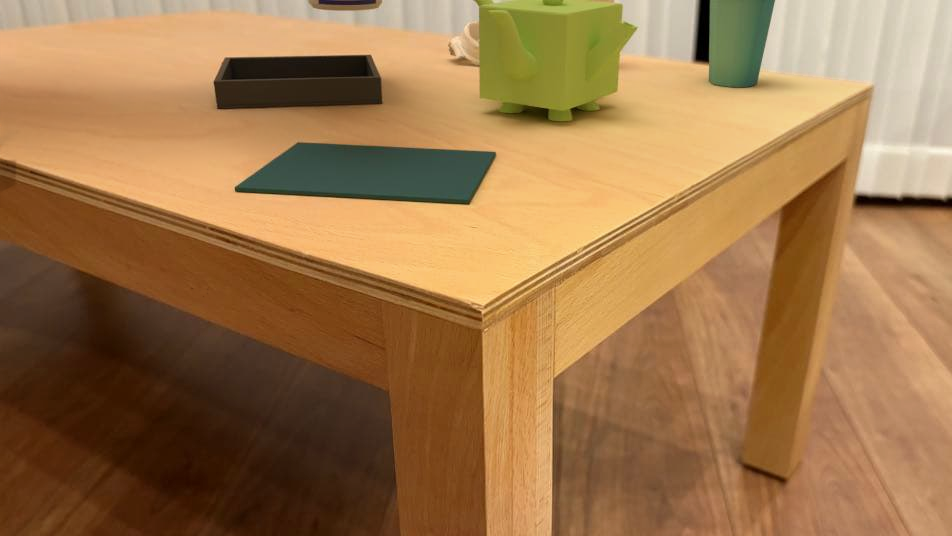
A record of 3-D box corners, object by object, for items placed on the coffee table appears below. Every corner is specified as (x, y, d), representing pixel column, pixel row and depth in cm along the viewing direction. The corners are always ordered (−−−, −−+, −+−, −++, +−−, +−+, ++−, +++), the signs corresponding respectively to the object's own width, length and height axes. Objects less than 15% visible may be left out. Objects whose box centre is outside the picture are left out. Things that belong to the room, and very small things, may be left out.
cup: (699, 95, 90) (715, -60, 83) (655, 82, 96) (666, -64, 90) (797, 84, 96) (818, -61, 90) (749, 72, 102) (766, -64, 96)
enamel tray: (227, 81, 91) (224, 57, 90) (372, 77, 95) (371, 54, 94) (217, 108, 80) (213, 81, 79) (382, 103, 83) (381, 77, 82)
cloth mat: (234, 191, 58) (234, 187, 58) (298, 145, 69) (297, 142, 68) (469, 204, 56) (468, 199, 56) (496, 155, 67) (495, 151, 67)
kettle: (488, 131, 74) (487, -7, 69) (458, 97, 87) (455, -21, 82) (649, 123, 78) (659, -8, 73) (598, 92, 90) (603, -22, 86)
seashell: (499, 62, 110) (500, 22, 109) (523, 66, 105) (524, 24, 103) (441, 61, 107) (441, 20, 105) (463, 65, 101) (463, 22, 100)
